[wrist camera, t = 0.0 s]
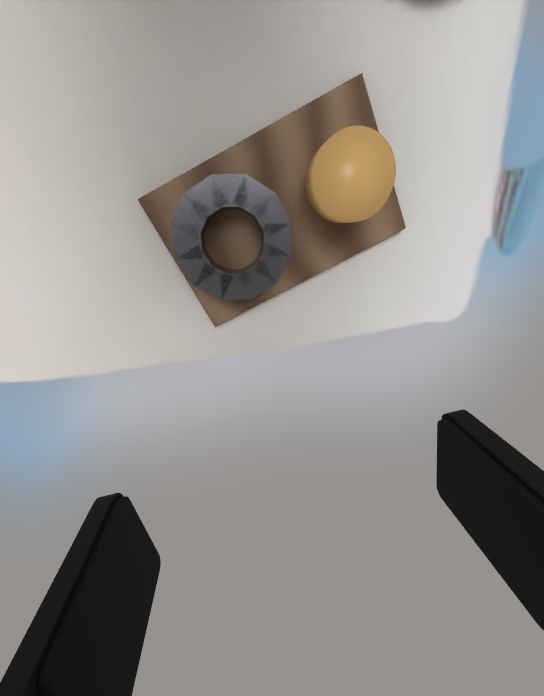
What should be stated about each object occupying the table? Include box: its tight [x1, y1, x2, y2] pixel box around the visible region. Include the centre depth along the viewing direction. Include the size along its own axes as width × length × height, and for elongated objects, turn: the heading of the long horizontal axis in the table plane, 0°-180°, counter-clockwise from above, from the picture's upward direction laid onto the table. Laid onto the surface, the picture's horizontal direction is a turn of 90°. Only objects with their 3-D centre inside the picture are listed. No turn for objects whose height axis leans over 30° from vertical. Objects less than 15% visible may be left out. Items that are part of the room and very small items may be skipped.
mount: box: [138, 73, 406, 327], centre depth 34 cm, size 26×16×1 cm, turn 116°
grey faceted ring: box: [170, 174, 291, 300], centre depth 32 cm, size 12×12×4 cm
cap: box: [306, 126, 396, 223], centre depth 30 cm, size 8×8×7 cm
